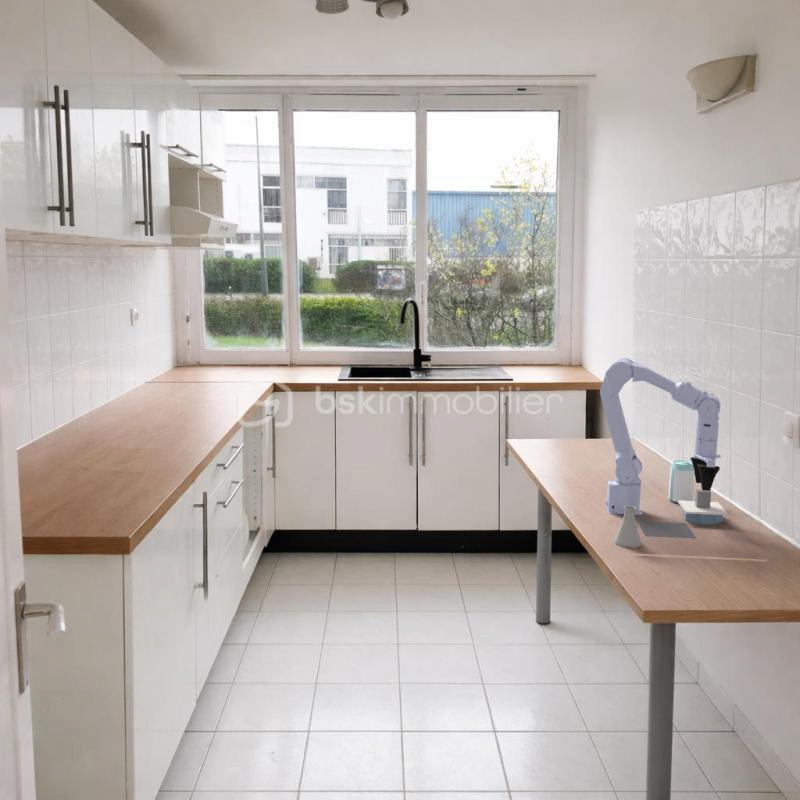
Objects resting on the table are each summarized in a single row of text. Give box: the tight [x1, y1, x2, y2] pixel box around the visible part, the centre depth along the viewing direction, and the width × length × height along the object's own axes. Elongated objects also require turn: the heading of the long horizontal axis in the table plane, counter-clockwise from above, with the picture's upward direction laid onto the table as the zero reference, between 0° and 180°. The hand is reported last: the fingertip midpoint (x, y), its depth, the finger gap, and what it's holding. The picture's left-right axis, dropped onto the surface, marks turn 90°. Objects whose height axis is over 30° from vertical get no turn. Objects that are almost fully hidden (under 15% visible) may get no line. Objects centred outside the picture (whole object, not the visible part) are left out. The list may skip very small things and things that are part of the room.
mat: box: [637, 520, 697, 539], centre depth 240 cm, size 13×13×1 cm
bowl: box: [682, 509, 724, 526], centre depth 250 cm, size 10×10×4 cm
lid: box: [677, 489, 729, 516], centre depth 249 cm, size 11×11×5 cm
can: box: [668, 459, 695, 504], centre depth 269 cm, size 7×7×12 cm
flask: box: [613, 506, 643, 548], centre depth 228 cm, size 7×7×10 cm
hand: (703, 486), depth 249 cm, fingers open, 7 cm apart
